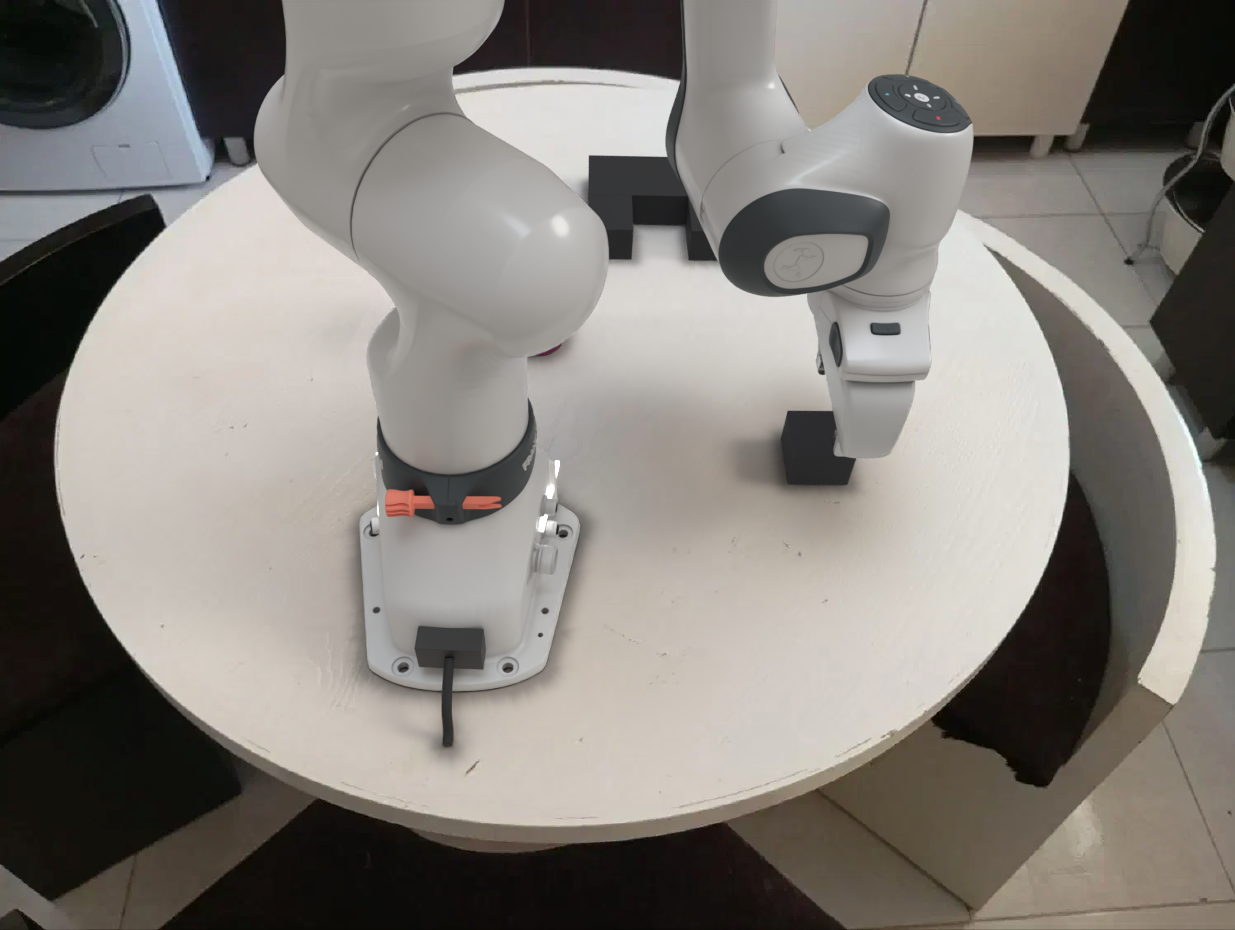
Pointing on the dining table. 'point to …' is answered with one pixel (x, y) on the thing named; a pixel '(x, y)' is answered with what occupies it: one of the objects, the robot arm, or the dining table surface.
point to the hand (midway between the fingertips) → (833, 408)
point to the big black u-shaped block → (642, 202)
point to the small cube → (813, 450)
